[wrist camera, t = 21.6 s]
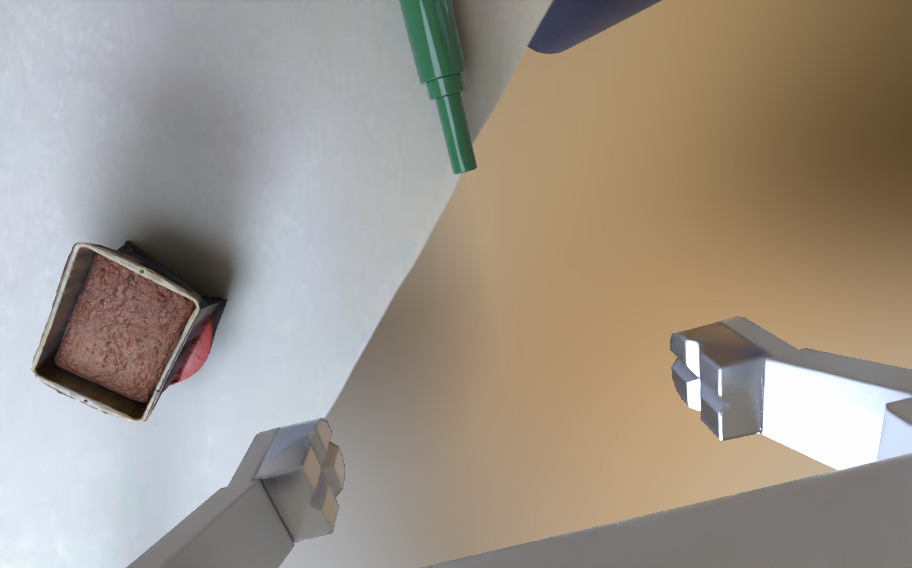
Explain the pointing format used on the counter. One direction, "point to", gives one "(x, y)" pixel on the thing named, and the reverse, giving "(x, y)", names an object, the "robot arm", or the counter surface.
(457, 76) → the green bottle
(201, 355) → the baking dish
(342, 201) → the counter surface
